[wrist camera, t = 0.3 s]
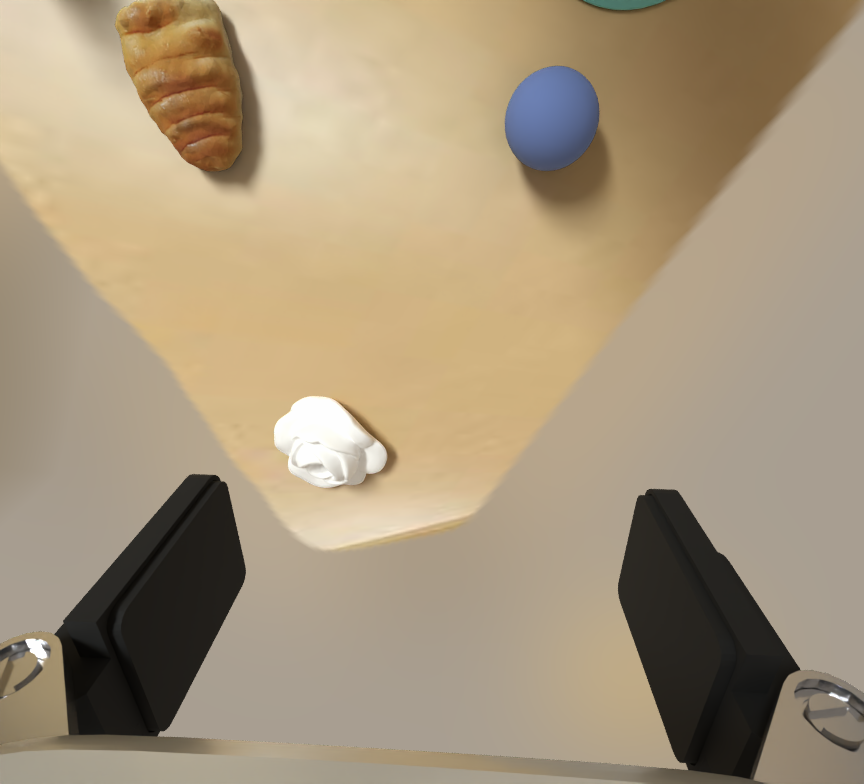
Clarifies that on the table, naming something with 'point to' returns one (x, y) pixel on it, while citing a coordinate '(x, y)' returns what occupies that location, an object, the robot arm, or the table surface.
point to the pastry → (185, 76)
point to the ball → (552, 118)
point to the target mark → (623, 4)
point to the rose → (327, 444)
